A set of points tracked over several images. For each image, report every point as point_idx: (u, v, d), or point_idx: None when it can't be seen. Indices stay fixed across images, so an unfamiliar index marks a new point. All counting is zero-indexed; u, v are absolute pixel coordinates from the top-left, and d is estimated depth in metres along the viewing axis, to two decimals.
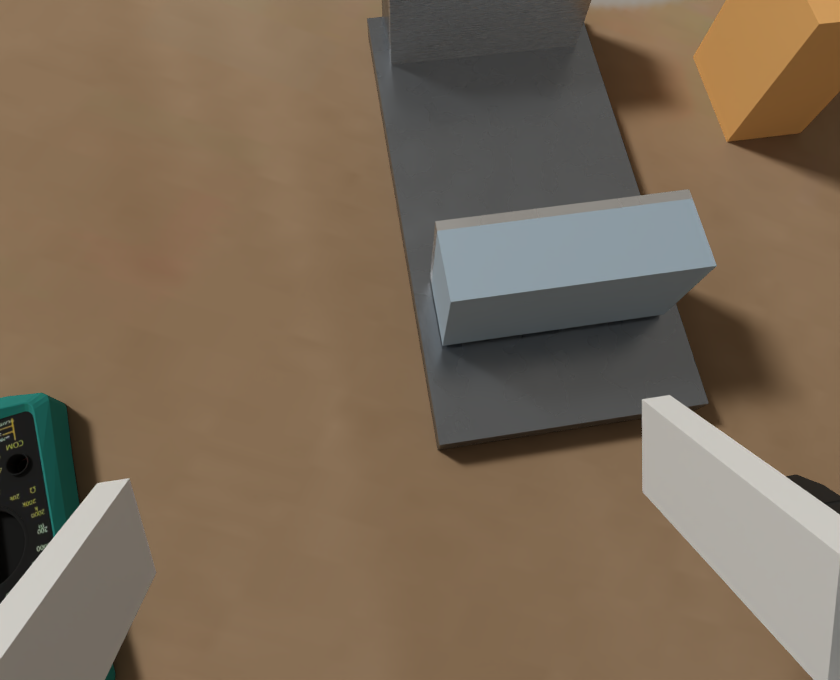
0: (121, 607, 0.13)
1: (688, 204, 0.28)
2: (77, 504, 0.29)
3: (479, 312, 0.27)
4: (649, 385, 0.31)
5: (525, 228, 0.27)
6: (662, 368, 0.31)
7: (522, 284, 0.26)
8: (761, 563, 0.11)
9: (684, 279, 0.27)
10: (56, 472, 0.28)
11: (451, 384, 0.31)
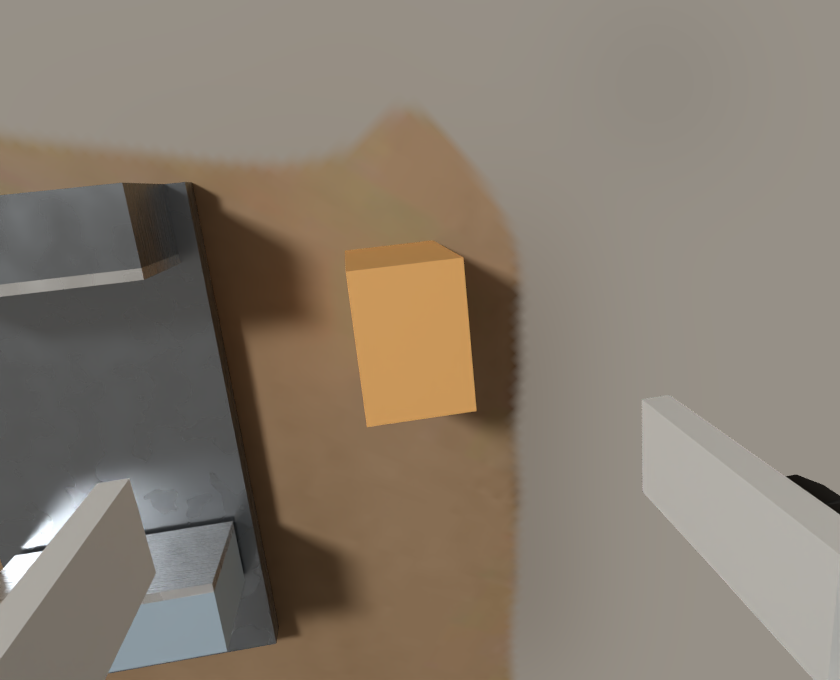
0: (121, 607, 0.13)
1: (209, 598, 0.29)
2: None
3: None
4: None
5: None
6: (240, 619, 0.37)
7: None
8: (761, 563, 0.11)
9: None
10: None
11: None
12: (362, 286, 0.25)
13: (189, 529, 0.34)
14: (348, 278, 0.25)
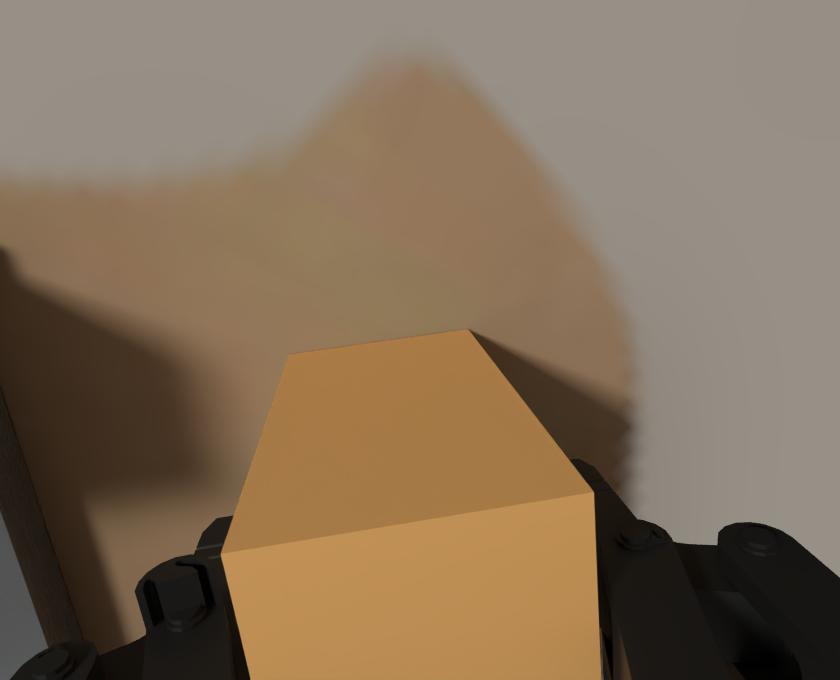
0: None
1: None
2: None
3: None
4: None
5: None
6: None
7: None
8: None
9: None
10: None
11: None
12: (278, 590, 0.08)
13: None
14: (231, 571, 0.08)
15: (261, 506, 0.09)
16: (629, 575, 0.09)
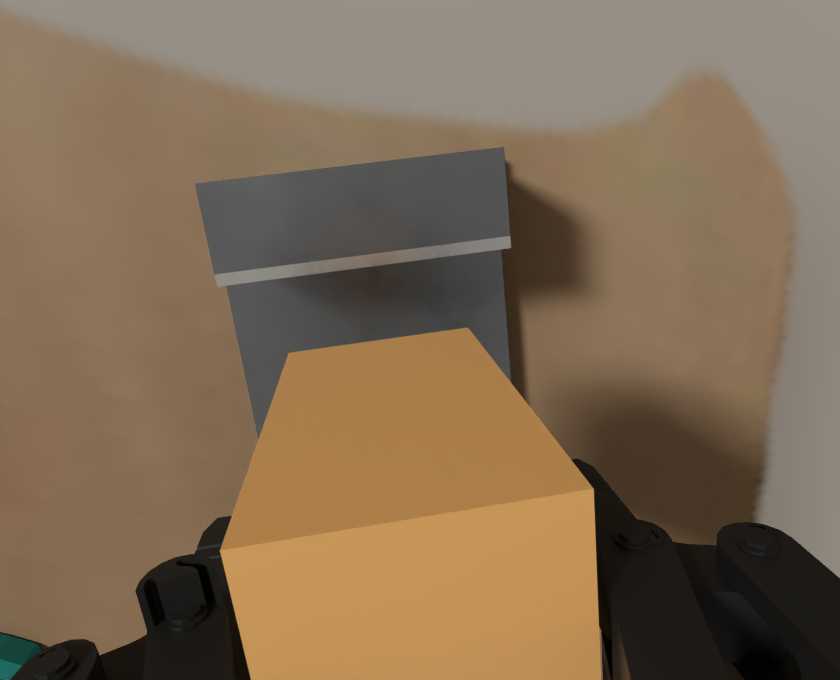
0: None
1: None
2: None
3: None
4: None
5: None
6: None
7: None
8: None
9: None
10: None
11: None
12: (277, 587, 0.08)
13: None
14: (230, 568, 0.08)
15: (260, 503, 0.09)
16: (628, 575, 0.09)
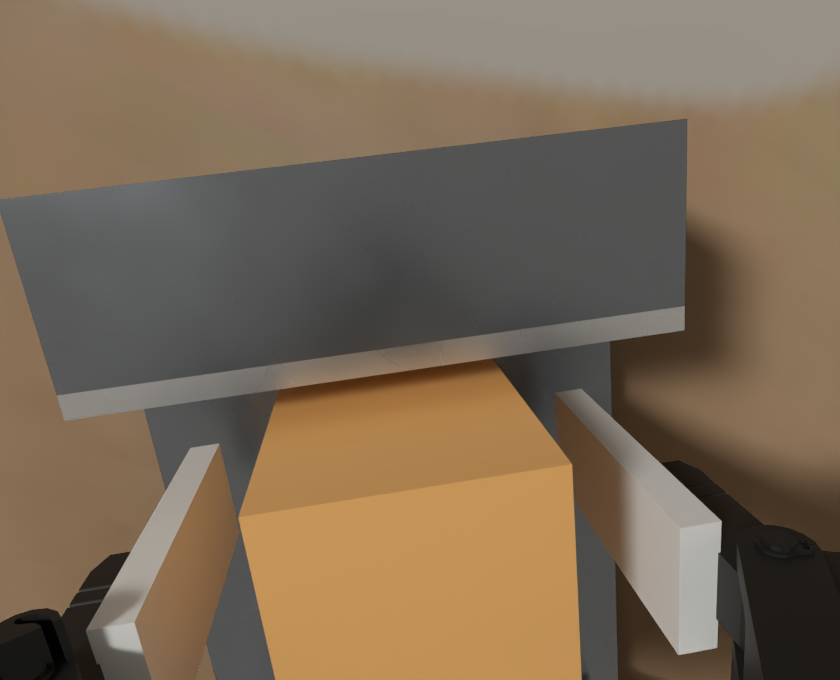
0: (220, 557, 0.14)
1: None
2: None
3: None
4: None
5: None
6: None
7: None
8: (634, 540, 0.12)
9: None
10: None
11: None
12: (289, 550, 0.09)
13: None
14: (247, 533, 0.09)
15: (273, 478, 0.10)
16: (769, 582, 0.09)
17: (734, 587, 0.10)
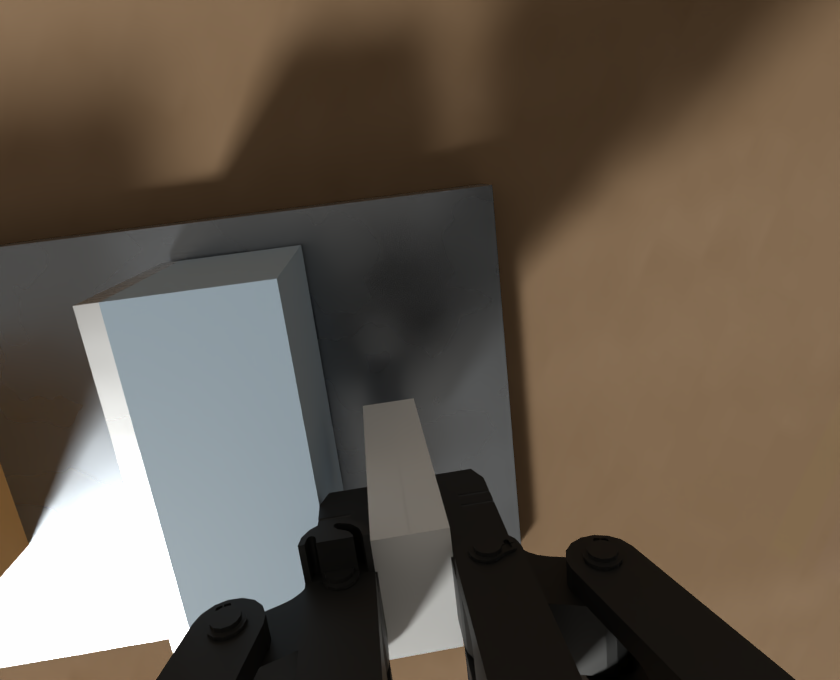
0: None
1: (117, 314, 0.12)
2: None
3: None
4: (455, 281, 0.19)
5: None
6: (427, 254, 0.18)
7: None
8: None
9: (291, 313, 0.13)
10: None
11: None
12: None
13: None
14: None
15: None
16: (485, 590, 0.09)
17: (457, 589, 0.11)
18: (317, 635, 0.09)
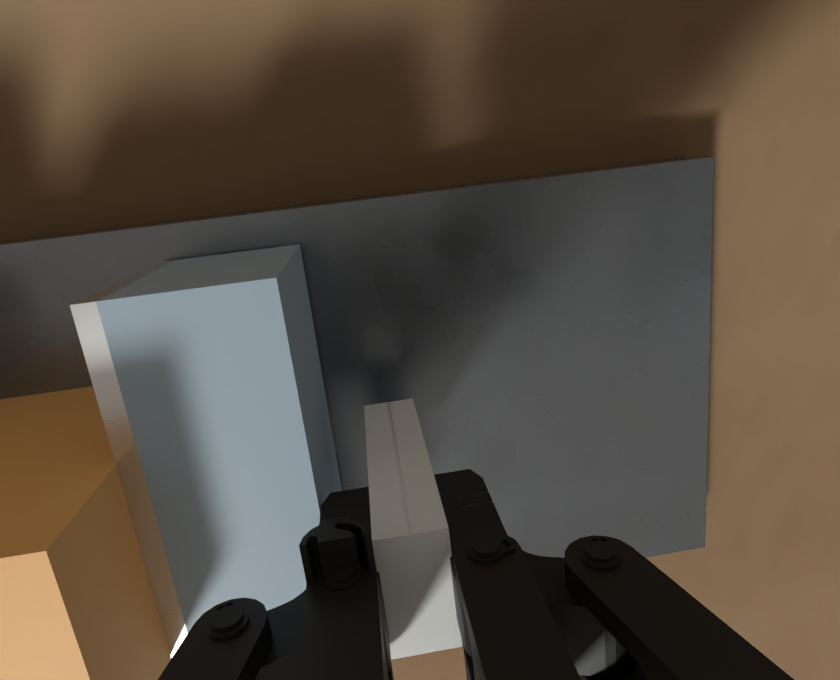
0: None
1: (114, 313, 0.12)
2: None
3: None
4: (671, 251, 0.19)
5: None
6: (647, 225, 0.19)
7: None
8: None
9: (290, 312, 0.13)
10: None
11: (627, 533, 0.22)
12: None
13: None
14: None
15: None
16: (483, 590, 0.09)
17: (456, 590, 0.11)
18: (318, 635, 0.09)
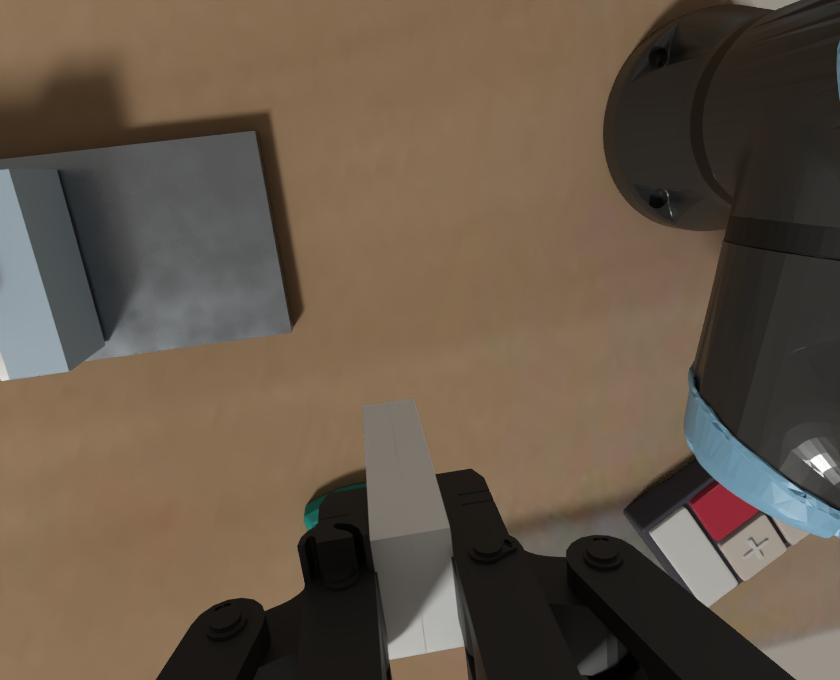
0: None
1: None
2: None
3: (74, 341, 0.38)
4: (242, 176, 0.40)
5: None
6: (227, 162, 0.40)
7: (48, 321, 0.36)
8: None
9: (24, 186, 0.35)
10: None
11: (247, 323, 0.43)
12: None
13: None
14: None
15: None
16: (485, 590, 0.09)
17: (457, 589, 0.11)
18: (316, 635, 0.09)
